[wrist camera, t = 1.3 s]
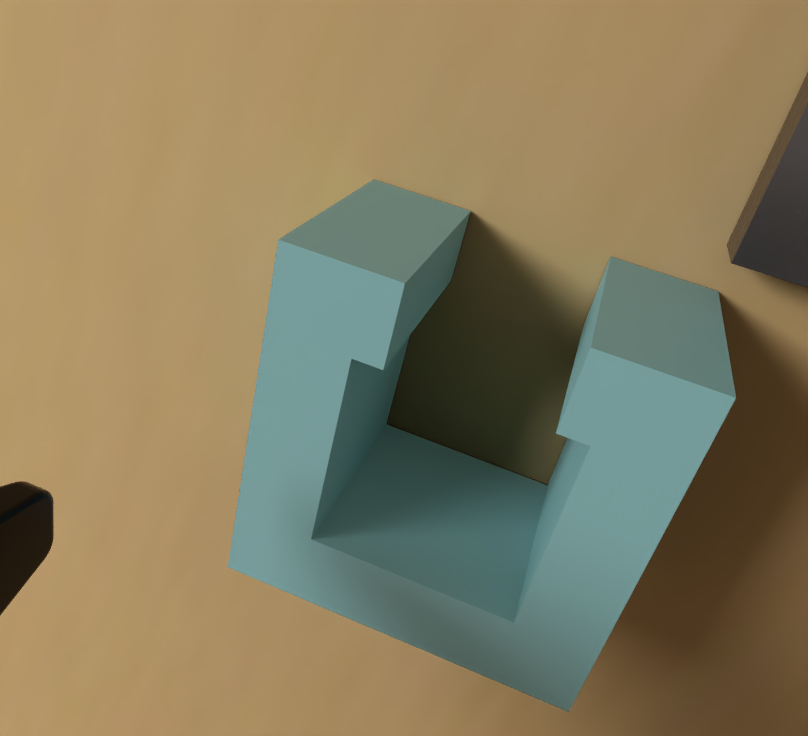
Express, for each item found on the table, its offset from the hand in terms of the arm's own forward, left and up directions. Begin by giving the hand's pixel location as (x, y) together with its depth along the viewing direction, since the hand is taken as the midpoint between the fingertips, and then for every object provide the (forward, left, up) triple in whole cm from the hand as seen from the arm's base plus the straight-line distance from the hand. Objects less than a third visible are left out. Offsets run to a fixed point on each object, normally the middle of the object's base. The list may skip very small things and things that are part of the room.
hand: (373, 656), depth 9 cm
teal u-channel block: (0, 0, -7) cm, 7 cm away
